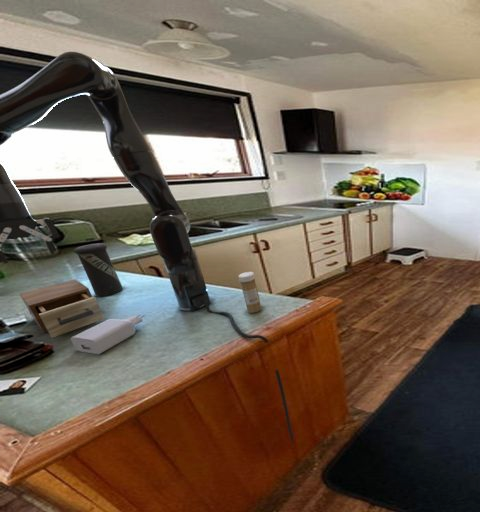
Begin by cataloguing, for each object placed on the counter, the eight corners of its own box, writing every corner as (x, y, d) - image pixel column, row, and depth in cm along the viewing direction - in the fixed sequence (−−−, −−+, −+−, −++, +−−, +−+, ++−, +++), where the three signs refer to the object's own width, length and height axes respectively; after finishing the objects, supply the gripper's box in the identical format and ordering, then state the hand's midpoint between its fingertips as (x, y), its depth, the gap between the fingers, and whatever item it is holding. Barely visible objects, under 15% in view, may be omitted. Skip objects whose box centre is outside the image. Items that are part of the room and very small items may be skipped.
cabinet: (100, 313, 94) (88, 288, 91) (44, 333, 84) (28, 305, 80) (86, 302, 102) (75, 279, 98) (33, 319, 92) (19, 293, 88)
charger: (156, 323, 87) (101, 354, 73) (133, 320, 89) (76, 351, 75) (151, 310, 85) (94, 340, 71) (128, 308, 87) (69, 336, 73)
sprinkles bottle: (262, 305, 95) (254, 270, 90) (261, 311, 91) (253, 275, 86) (247, 308, 93) (239, 272, 89) (246, 314, 89) (237, 277, 85)
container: (105, 297, 105) (84, 249, 98) (88, 296, 107) (66, 248, 100) (129, 287, 113) (111, 242, 106) (112, 286, 115) (93, 241, 108)
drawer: (109, 322, 86) (99, 300, 84) (55, 342, 77) (42, 319, 75) (91, 307, 96) (81, 287, 93) (41, 324, 87) (29, 302, 84)
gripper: (-47, 206, 65) (-10, 269, 70) (43, 198, 76) (69, 252, 82) (-48, 205, 69) (-13, 264, 74) (38, 197, 80) (63, 249, 86)
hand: (30, 258), depth 78 cm, fingers open, 8 cm apart
